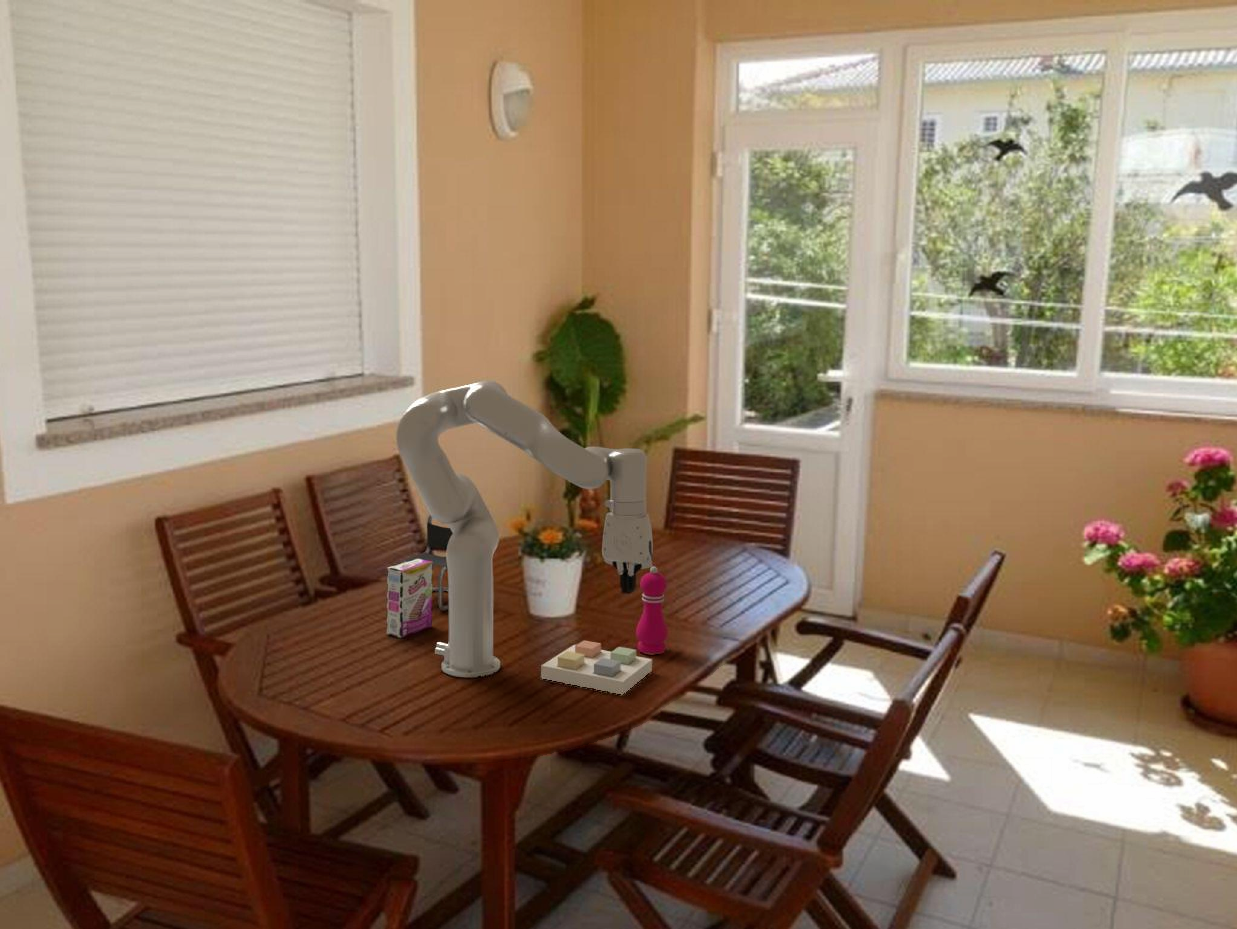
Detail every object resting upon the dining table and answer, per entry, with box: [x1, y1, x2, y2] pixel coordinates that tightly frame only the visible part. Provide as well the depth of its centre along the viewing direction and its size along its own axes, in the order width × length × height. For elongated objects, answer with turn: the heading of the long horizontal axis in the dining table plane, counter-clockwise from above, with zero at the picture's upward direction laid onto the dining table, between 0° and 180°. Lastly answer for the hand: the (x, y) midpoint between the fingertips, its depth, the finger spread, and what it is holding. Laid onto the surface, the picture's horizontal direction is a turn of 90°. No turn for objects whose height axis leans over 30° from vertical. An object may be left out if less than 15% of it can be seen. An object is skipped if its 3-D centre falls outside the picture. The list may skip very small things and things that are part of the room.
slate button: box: [594, 658, 621, 677], centre depth 225 cm, size 4×4×2 cm
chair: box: [400, 513, 453, 612], centre depth 280 cm, size 13×17×22 cm
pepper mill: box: [635, 565, 669, 653], centre depth 246 cm, size 7×7×20 cm
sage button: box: [610, 646, 637, 665], centre depth 233 cm, size 4×4×2 cm
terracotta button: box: [575, 640, 602, 659], centre depth 236 cm, size 4×4×2 cm
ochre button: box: [558, 651, 585, 670], centre depth 229 cm, size 4×4×2 cm
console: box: [540, 644, 653, 696], centre depth 231 cm, size 19×15×3 cm
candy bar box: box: [386, 559, 434, 639], centre depth 256 cm, size 11×5×16 cm, turn 149°
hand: (628, 591), depth 230 cm, fingers closed
